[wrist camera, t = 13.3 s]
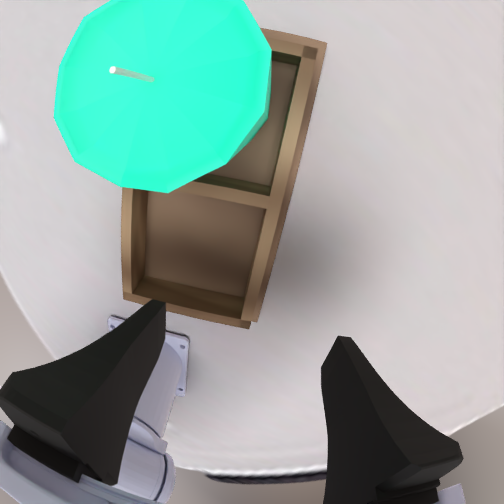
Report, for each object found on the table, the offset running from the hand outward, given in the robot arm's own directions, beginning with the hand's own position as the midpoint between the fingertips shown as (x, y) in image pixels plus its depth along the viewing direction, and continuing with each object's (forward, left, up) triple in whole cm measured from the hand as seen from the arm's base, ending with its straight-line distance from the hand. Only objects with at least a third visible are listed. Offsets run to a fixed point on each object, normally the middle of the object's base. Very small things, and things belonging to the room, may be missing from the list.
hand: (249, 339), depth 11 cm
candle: (+9, +4, -9) cm, 13 cm away
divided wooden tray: (+4, +4, -9) cm, 11 cm away
